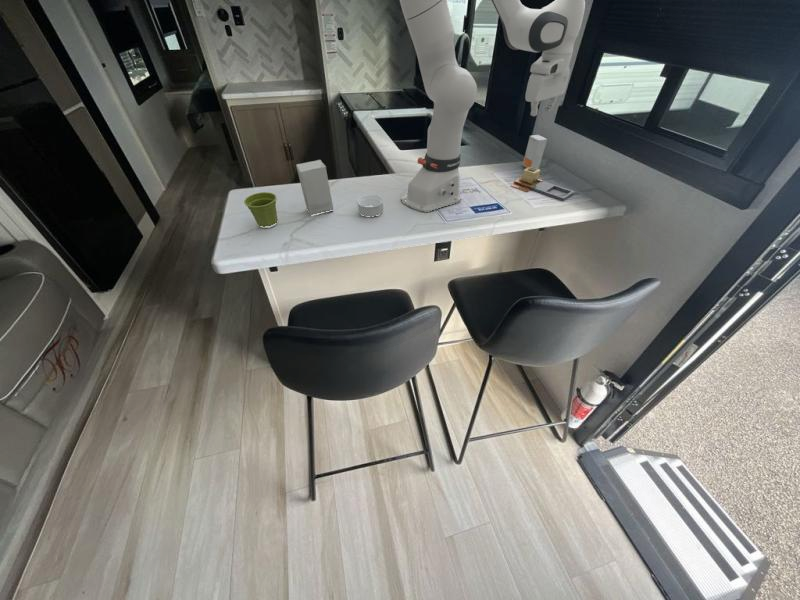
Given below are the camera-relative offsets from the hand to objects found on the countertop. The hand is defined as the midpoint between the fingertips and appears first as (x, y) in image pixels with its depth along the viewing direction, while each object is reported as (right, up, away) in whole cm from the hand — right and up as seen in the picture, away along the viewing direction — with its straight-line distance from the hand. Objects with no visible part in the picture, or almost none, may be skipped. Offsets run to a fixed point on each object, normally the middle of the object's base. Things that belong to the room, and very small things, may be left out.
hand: (540, 113), depth 111 cm
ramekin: (-59, -35, -2) cm, 68 cm away
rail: (+4, -24, +9) cm, 25 cm away
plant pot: (-91, -40, -7) cm, 100 cm away
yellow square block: (+1, -20, +13) cm, 24 cm away
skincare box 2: (+6, -9, +25) cm, 27 cm away
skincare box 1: (-76, -34, -1) cm, 84 cm away
